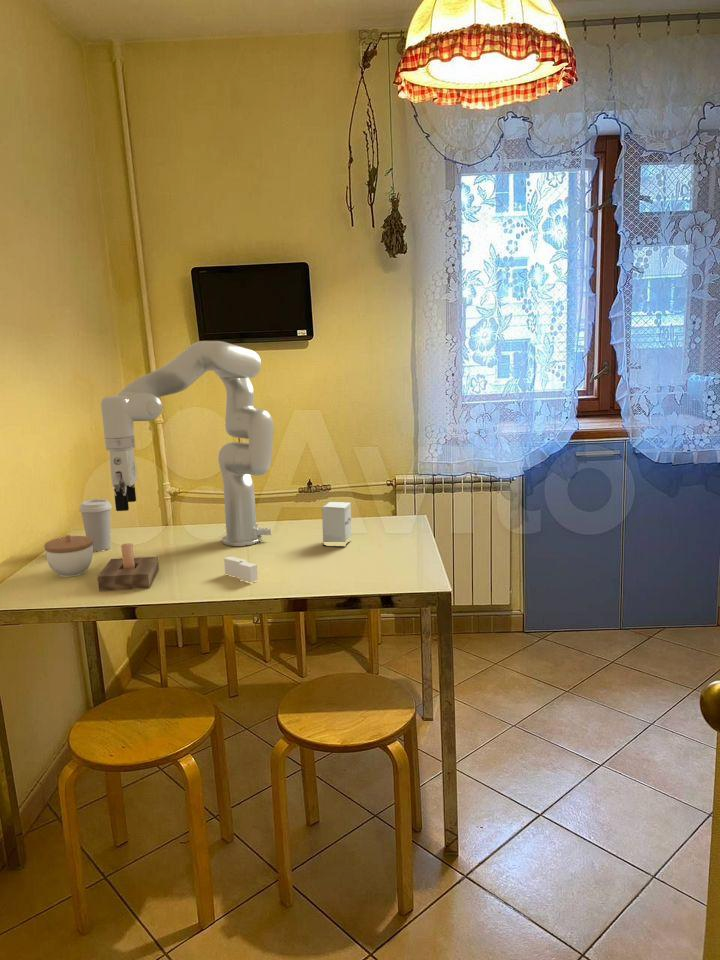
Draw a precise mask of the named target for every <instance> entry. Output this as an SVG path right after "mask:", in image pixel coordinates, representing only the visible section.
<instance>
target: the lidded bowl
mask: <svg viewBox="0 0 720 960" xmlns="http://www.w3.org/2000/svg"><path fill="white" fill-rule="evenodd" d="M92 544H93V540H92V538H90V537H86V535H70V534H65V536H63V537H57V538H54V539H53V538H52V539H51V540H49V541H46V542H45V543H44V550H45V555H46V560H47V564H48V566H49V567H50V569H51V570H52V571H53V572H54V573H56V574H58V576H59V577H61V578H71V577H70V576H73V577H77V575H78V576H80V575H79V574H81V575H83V574H85V573H86V570H87V569H88V568H89V567H90V566H91V563H92V561H93V556H94V554H93V553H94V552H93V546H92ZM84 572H85V573H84ZM82 573H83V574H82Z"/></svg>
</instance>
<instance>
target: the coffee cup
mask: <svg viewBox="0 0 720 960" xmlns="http://www.w3.org/2000/svg"><path fill="white" fill-rule="evenodd" d="M112 508H113V506H112V504H111V502H110V501H109V500H108V499H106V498H105V499H103V498H95V499H88V500H84V501H82V502H81V504H80V507H79V510H78V511H79V512H80V514H81V517H82V523H83V528H84V532H85V533H84V534H85V536H86V537H90V538H92V540H93V544H92V546H93V551H100V552H103V551H102V550H105V551H107V550H106V549H108V550H110V549H111V548H110V547H111V546H112V544H111V543H112V542H111V541H112V540H111V539H112V538H111V533H112V531H111V528H112V527H111V511H112V510H111V509H112ZM109 548H110V549H109Z"/></svg>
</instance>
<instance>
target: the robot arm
mask: <svg viewBox="0 0 720 960" xmlns="http://www.w3.org/2000/svg"><path fill="white" fill-rule="evenodd" d="M261 370H262V360H261V358H260V355H259V354H258V353H257V352H256V351H254V350H252V349H250V348H247V347H243V346H240V345H236V344H233V343H230V342H226V341H221V340H200V341H196V342H194V343H192V344H191V345H190V346H188V347H187V348H186V349H185V350H183V351H182V352H181V353H179V354H178V355H177V356H175V358H173V359H172V360H171V361H169V362H168V363H167V364H165V365H164V366H162V367H159V368H157V369H155V370H153V371H151V372H149V373H147V374H145V375H142V376H140V377H139V378H137V379H136V380H134V381H132V382H131V383H130V384H128V385H127V386H125V388H123V389H122V390H121V391H119V393H118V394H117V395H110V396H105V397H103V398H102V399H101V402H100V408H101V414H102V415H101V416H102V426H103V435H104V436H103V437H104V447H105V451H109V463H110V464H109V466H110V476H111V484H112V487H113V488H114V489H113V491H114V504H115V511H116V512H126V511H127V512H128V511H129V509H130V508H129V503H133V502H135V503H136V502H137V497H136V495H137V494H136V487H135V486H136V485H135V484H136V482H137V481H138V479H139V477H138V471H137V464H136V456H135V450H134V449H136V439H135V430H134V422H151V421H153V420H156V419H157V418H158V417H160V415H161V414H162V411H163V402H162V400H161V399H160V398H161V397H164V396H165V397H166V396H169V395H175V394H178V393H180V392H183V391H185V390H187V389H188V388H189V387H190V386H191V385H193V384H194V382H196V381H197V380H198V379H200V378H201V377H202V376H203V375H204V374H206V373H207V372H209V371H211V372H214V373H215V374H216V375H217V376H218V377H219V379H220V380H221V382H222V383H223V385H224V388H225V392H226V401H225V402H226V403H225V404H226V406H225V420H224V421H225V425H224V426H225V431H226V434H228V436H231V437H232V438H238V439H243V440H245V439H246V440H248V443H247V442H240V441H239V442H238V441H237V442H236V441H235V442H234V441H233V442H228V443H226V444H224V445H223V446H222V447H221V448H220V450H219V452H218V455H217V456H218V460H217V461H218V465H219V469H220V473H221V477H222V483H223V484H222V485H223V497H224V498H223V499H224V513H225V514H224V515H225V516H224V517H225V530H226V534H225V535H224V536H222V538H221V543H222V544H223V545H225V546H229V547H245V546H246V545H247V546H251V545H256V544H258V543H260V542H261V541H262V540H263V536H271V535H272V528H268V527H263V528H262V527H261V528H260V527H259V524H257V515H256V512H257V511H256V495H255V494H256V492H255V490H256V489H255V484H254V481H253V477H252V476H255V477H259V476H263V475H266V474H267V472H269V470H270V468H271V465H272V460H273V451H274V450H273V449H274V436H275V435H274V434H275V432H274V431H275V428H274V420H273V417H272V416H271V414H270V413H269V411H267V410H265V409H262V408H255V389H254V385H253V383H252V381H251V379H253V378H255V377H257V376H258V374H260V372H261ZM259 541H260V542H259ZM257 542H258V543H257ZM255 543H256V544H255Z"/></svg>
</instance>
